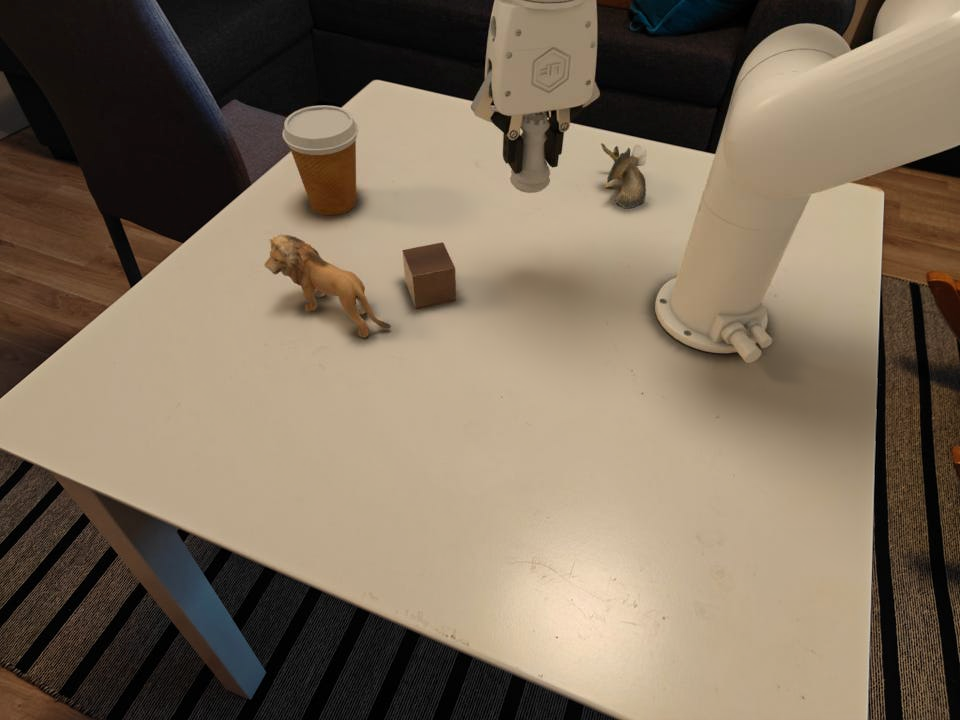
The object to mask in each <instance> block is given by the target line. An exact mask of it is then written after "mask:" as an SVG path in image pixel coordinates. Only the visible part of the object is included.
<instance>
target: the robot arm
mask: <svg viewBox="0 0 960 720" xmlns="http://www.w3.org/2000/svg"><path fill="white" fill-rule="evenodd" d="M597 9H598V5H597V0H494V1H493V5H492V10H491V14H490V15H491V16H490V21H489V27H488V33H487V34H488V35H487V42H486V53H485V64H484V65H485V66H484V81H483V82H482V84H481V86H480V88H479V90H478V91H477V94H476V95H475V97H474V99H473V100H472V102H471V105H470V109H471V111H472V112H473V114H474V115H475V117H477V118H480V119H482V120H484V121H487V122H489V123H492V124H493V125H494V126H495V127H496V128H497V129H498V130H500V131H501V132H502V133H503V137H502V140H503V141H502V159H503V161H504V162H505V164H507V165H508V166H509V167H510V169H511V170H513V172H514V173H515V174H518V173H520V172H521V171H522V160H523V145H524V141H523V138H522V137H521V123H522V118H523V115H525V114H534V113H539V112H540V113H542V112H545V113H547V112H548V115H549V116H548V118H547V120H548V121H549V123H550V127H549V128H548V129H547V130H546V132H545V135H546V137H547V139H546V141H545V142H544V155H545V160H546V162H547V165H548V166H549V167H551V168H557V167H558V166H559V159H560V158H559V157H560V155H562V153H563V146H564V137H565V132H567V131H568V130H569V129H570V127H571V123H572V121H574V119H575V118H577V116H578V115H579V114H580V113H581V112H582V110H583V109H584V108H587V106H589V105H590V104H592V103H593V102H594V101H596V100H597V99H598V98H599V97H600V95H601V93H600V91H601V90H600V89H599V87H598V85H597V82H596V80H595V79H596V72H597V71H596V68H597V56H598V54H597V53H598V10H597ZM872 32H873V33H872V40H871V41H869V42H866V43H865V44H862V45H861V46H858V47H856V48H854V49H851V48H850V45H849V44H848V43H847V41H846V40H845V38H843V36H841V35H840V34H839V33H838V32H836V31H835V30H833V29H831V28H829V27H827V26H824V25H821V24H817V23H807V22H806V23H797V24H792V25H789V26H785V27H783V28H781V29H778V30H777V31H774V32H772V33H771V34H769V35H768V36H767V37H766V38H764V39H763V40H762V41H761V42H760V43H758V45H756V46H755V48H754V49H753V50H752V51H751V52H750V53H749V55H748V56H747V58H746V59H745V60H744V62H743V64H742V66H741V68H740V69H739V72H738V75H737V77H736V80H735V83H734V87H733V90H732V94H731V97H730V101H729V105H728V108H727V113H726V115H725V119H724V123H723V125H722V130H721V133H720V137H719V140H718V143H717V147H716V150H715V153H714V157H713V160H712V164H711V167H710V170H709V173H708V176H707V179H706V183H705V186H704V189H703V192H702V195H701V198H700V201H699V203H698V207H697V211H696V213H695V217H694V221H693V224H692V228H691V230H690V234H689V237H688V240H687V243H686V246H685V250H684V253H683V257H682V260H681V262H680V265H679V266H680V267H679V269H678V273H677V275H676V277H673V278H672V279H669V280H668V281H667V282H666V283H663V285H662V287H660V289H659V290H658V292H657V295H656V299H655V302H654V312H655V315H656V318H657V320H658V321H659V323H660V326H661V327H662V328H663V329H664V330H665V331H666V332H667V333H669V335H670V336H672V337H673V338H674V339H675V340H678V342H681V343H683V344H684V345H686V346H689V347H691V348H693V349H696V350H700V351H703V352H707V353H714V354H731V353H737V354H738V355H739V357H741V359H742V360H743V361H744V362H745V363H746V364H751V363H754V362H755V361H756V360H758V359H759V358H760V357H761V356H762V352H763V351H762V350H761V349H760V348H762V349H766V348H768V347H769V346H771V345H772V344H773V340H774V339H772V337H771V336H770V335H769V334H768V333H767V332H766V329H767V327H768V320H769V319H768V313H767V311H768V309H767V308H766V307H765V306H764V304H763V301H764V299H765V297H766V294H767V292H768V290H769V288H770V286H771V284H772V282H773V279H774V277H775V275H776V272H777V270H778V268H779V266H780V263H781V262H782V259H783V257H784V254H785V252H786V250H787V248H788V246H789V243H790V242H791V239H792V237H793V235H794V233H795V230H796V228H797V226H798V224H799V222H800V220H801V218H802V216H803V214H804V211H805V210H806V207H807V205H808V203H809V200H810V198H811V196H812V195H814V194H819V193H822V192H825V191H828V190H832V189H835V188H837V187H840V186H843V185H847V184H850V183H853V182H856V181H859V180H863V179H866V178H868V177H871V176H873V175H874V176H875V175H877V174H880V173H883V172H885V171H888V170H892V169H894V168H897V167H901V166H904V165H906V164H910V163H912V162H915V161H919V160H921V159H924V158H927V157H931V156H933V155H936V154H939V153H942V152H944V151H947V150H951V149H953V148H956V147H958V146H960V0H885V1H884V2H883V3H882V6H881V7H880V9H879V11H878V12H877V16H876V18H875V22H874V26H873V31H872ZM492 103H493V104H494V106H492ZM757 344H758V345H759V346H760V348H759V347H758V345H757Z"/></svg>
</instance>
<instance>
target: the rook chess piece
mask: <svg viewBox="0 0 960 720" xmlns="http://www.w3.org/2000/svg"><path fill="white" fill-rule="evenodd" d="M549 127H550V123H549V121H548V115H547V112H539V113H532V114H525V115H523V118H522V123H521V128H520V130H521V131H522V133H520V135H521V137H522V138H523V141H524V145H523V160H522V171H521V172H520V173H518V174H515V173H514V172H513V170H512V169H511V170H510V173H511V176H510V177H509V180H510V183H511V185H512V186H513V187H514V188H515V190H517V191H520V192H522V193H526V194H536V193H540V192H542V191H543V190H545V189H546V188H547V187H548V186H550V183H551V178H550V175H551V170H550V166H549V165H548V163H547V161H546V160H545V155H544V142H545V141H546V139H547V137H546V135H545V132H546V130H547V129H548V128H549Z"/></svg>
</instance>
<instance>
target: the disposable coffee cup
mask: <svg viewBox="0 0 960 720" xmlns="http://www.w3.org/2000/svg"><path fill="white" fill-rule="evenodd" d="M283 124H284V126H283V130H282V138H283V141H284V142H285V143H286V145H287V146H288V147H289V150H290V151H291V155H292V157H293V160H294V163H295V165H296V168H297V171H298V173H299V176H300V179H301V182H302V184H303V187H304V190H305V192H306V193H305V194H306V196H307V198H308V202H309V203H310V206H311V209H312V210H313V211H314V212H316V213H318V214H320V215H324V216H337V215H342V214H345V213H347V212H349V211H351V210H352V209H353V208H354V207H355V206H356V205H357V144H356V143H357V142H356V140H357V137H358V133H359V126H358V123H357V122H356V121H355V119H354V117H353V115H352V114H351V113H350V112H349V111H348V110H347V109H345V108H342V107H339V106H335V105H324V104H323V105H321V104H320V105H311V106H306V107H303V108H300V109H298V110H295V111H293V112H292V113H290V114H289V115H288V116H286V119H285V120H284V123H283Z"/></svg>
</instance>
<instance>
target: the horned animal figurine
mask: <svg viewBox="0 0 960 720" xmlns="http://www.w3.org/2000/svg"><path fill="white" fill-rule="evenodd" d="M600 146H601V149H602V150H603V152H604V153H605V154H606V155H608V156H609V157H610V158H611V159H612V160H613V165H612V166H611V168H610V171H609V174H608V176H607V180H606V185H605V186H604V188H605V189H607V188H609V187H612V186H614V185H615V184H616V183H617V182H618V181H620V180H621V182H622V184H621V189H620V192H619V193H618V195H617V197H616V200H615V203H616V204H618V206H619V207H622V208H623V209H631V208H635V207H636V206H639V205H640V204H642V203H643V202H644V200H645V198H646V195H647V193H646V192H647V188H646V187H647V186H646V185H647V184H646V178H645V176H644V174H643V172H641V170H640V169H639V167H642V166H645V164H646V162H647V149H646V147H644V146H643V145H641V144H635V145H634V146H633V149H632V152H631V148H630V147H627V149H626V150H625V151H624V152H621V153H620V151H619V150H620V149H619V146H618V145H616V146H615V147H614V148H613V151H611V150H610V149H609V148H608V147H606V145H605V143H603V142H601V143H600Z"/></svg>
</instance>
